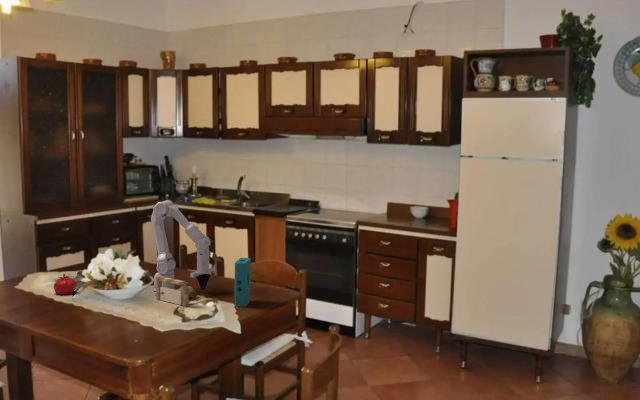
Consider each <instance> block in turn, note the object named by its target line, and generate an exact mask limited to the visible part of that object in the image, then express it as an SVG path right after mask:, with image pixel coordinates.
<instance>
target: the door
mask: <svg viewBox="0 0 640 400" xmlns="http://www.w3.org/2000/svg"><path fill="white" fill-rule="evenodd" d="M175 289H176V288H174V289H170V288H166V287H160V300H159V301H163V302H167V303H172V304H175V305H180V306H183V291H179V290H175Z"/></svg>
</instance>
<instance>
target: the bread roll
mask: <svg viewBox="0 0 640 400" xmlns="http://www.w3.org/2000/svg"><path fill="white" fill-rule="evenodd" d="M177 289H178V290H179V291H183V286H182V285H181V286H180V287H178V288H177ZM197 296H198V293H197V290H196V289H195V288H194V287H193V286H191V285H188V302H190V301H194V300H196V299H197V298H198V297H197Z"/></svg>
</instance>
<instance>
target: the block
mask: <svg viewBox="0 0 640 400" xmlns="http://www.w3.org/2000/svg"><path fill="white" fill-rule="evenodd" d="M251 262H252V261H251V258H250V257H240V258H238V259H237V260H236V261H235V262H234V301H235V302H234V304H235V307H247V306H248V305H249V304H250V301H251V300H250V299H251V280H252V279H251V278H252V277H251V274H252V273H251V272H252V271H251V268H252V267H251V266H252V265H251V264H252V263H251Z"/></svg>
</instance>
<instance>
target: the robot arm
mask: <svg viewBox="0 0 640 400" xmlns="http://www.w3.org/2000/svg"><path fill="white" fill-rule="evenodd" d="M152 210H153V211H152V213H151V216H150V221H151V222H150V223H151V227H152V231H153V232H152V233H153V237H154V241H155V245H156V251H157V258H156V263H157V264H156V270H157V272H156V273H155V274H154V276H153V278H154V279H153V282H154V283H153V288H154V289H152V291H154V292H156V276H163V277H168V278H172V279H175V271H174V269H175V268H176V266H177V264H176V260H175V258H174V257H173V254H172V253H171V252H170V248H169V244H168V238H167V234H166V230H165V225H164V224H165V223H164V220H165V219H166V217H170V218H174V219H175V221H176V222H178V223H179V224H180V226H181V227H183V229H185V230H184V232H185V234H186V235H187V236H188V237H189V238H190V239H191V240H192V242H193V243H195V244H194V245H195V246H194V247H195V248H196V270H195V271H194V272H193V271H192V272H190V278H194V279H196V280H197V281H198V284H199V289H200V290H202V291H204V290H205V291H206V288H207V286H208V282H209V280H210V278H211V273H213V274H214V273H216V268H214V267H210V246H211V243H212V241H211V239H210V237H209V236H208V235H206V234H205V233H203V232H202V231H201V230H200V229H199V226H198V225H195V224H191V223H190V222H189V220H188V219H187V217H186V216H185V215H184V214H183V213H182V212H181V211H180V209H179V208H178V206H177V205H176V204H175V203H174V202H173V200H170V199H166V200H164V201H159V202H157V203H156V204H155V205H154V206H153V207H152ZM162 287H166V288H170V289H175V290H178V289H179V288H177V289H176V288H175V284H173V283H169V282H165V281H162Z"/></svg>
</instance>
